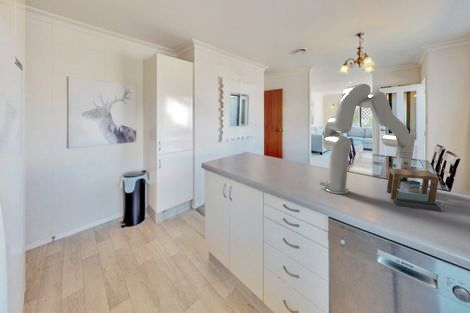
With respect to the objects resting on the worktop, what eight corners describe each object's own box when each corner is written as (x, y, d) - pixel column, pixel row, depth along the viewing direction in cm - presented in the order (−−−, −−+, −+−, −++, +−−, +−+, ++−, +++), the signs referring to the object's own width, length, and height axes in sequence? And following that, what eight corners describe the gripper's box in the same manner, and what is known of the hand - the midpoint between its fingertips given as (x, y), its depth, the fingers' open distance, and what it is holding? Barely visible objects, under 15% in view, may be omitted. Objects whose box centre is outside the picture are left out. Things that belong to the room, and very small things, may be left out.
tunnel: (391, 199, 109) (394, 173, 107) (386, 191, 121) (389, 168, 119) (434, 204, 102) (438, 177, 100) (425, 195, 114) (428, 171, 111)
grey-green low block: (397, 199, 108) (399, 186, 107) (387, 185, 130) (389, 174, 129) (427, 203, 103) (430, 189, 102) (412, 188, 125) (414, 176, 124)
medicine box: (407, 200, 108) (409, 183, 107) (398, 197, 113) (400, 181, 111) (418, 198, 110) (421, 182, 109) (409, 195, 115) (411, 179, 113)
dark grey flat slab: (396, 205, 102) (396, 201, 101) (393, 201, 107) (394, 197, 107) (440, 211, 95) (441, 207, 94) (435, 206, 100) (435, 202, 100)
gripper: (417, 158, 114) (413, 188, 117) (408, 153, 130) (404, 180, 133) (400, 157, 118) (396, 187, 121) (393, 152, 133) (390, 179, 136)
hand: (400, 183), depth 127 cm, fingers open, 9 cm apart
